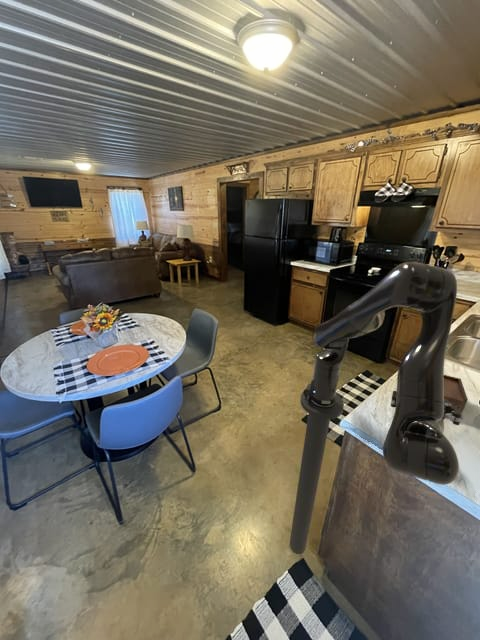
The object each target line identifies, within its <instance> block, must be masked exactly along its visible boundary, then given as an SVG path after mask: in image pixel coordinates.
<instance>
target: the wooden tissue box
mask: <svg viewBox="0 0 480 640" xmlns="http://www.w3.org/2000/svg"><path fill="white" fill-rule="evenodd" d="M462 381H463V380H462V378H459V377H455V376H450V375H447V374H444V399H447V401H448V402H450V403H451V406H452V407H454V408H455V406H458V407H460V408H461V415H462V414H463V412H464V410H465V408H466V406H467V403H468V401H469V399H468V396H467V392H466V390H465V388H464V387H465V386H464V384H463V382H462Z"/></svg>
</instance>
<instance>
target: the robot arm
mask: <svg viewBox="0 0 480 640" xmlns="http://www.w3.org/2000/svg"><path fill="white" fill-rule="evenodd" d="M457 295H458V281H457V278H456V275H455V274H454V273H453V272H452V271H451V270H449V269H446V268H444V267H440V266H436V265H431V264H426V263H421V262H417V261H405V262H401V263H400V264H398V265H396V266H395V267H393V268H392V269H391V270H390V271H389V272H388V273H387V274H386V275H385V276H384V277H383V278H382V279H381V280H380V281H379V282H377V283H376V284H375V286H373V287H372V288H371V289H370V290H368V292H366V293H365V294H363V295H362V296H361V297H360V298H358V299H357V300H356V301H354V302H352V303H351V304H349V305H348V306H346V307H345V308H344V309H343V310H342V311H340V312H339V313H338V314H336V315H334V316H333V317H331V318H330V319H328V320H325V321H323V322H321V323H320V324H318V325H317V326H316V327H315V329H314V333H313V341H314V344H315V345H316V347H318V348H319V349H321V351H319V352H318V353H317V354H316V355H315V361H314V362H315V363H314V367H313V368H314V369H313V376H312V379H311V381H310V382H308V384H307V386H306V387H305V388H304V390H303V391H304V395H305V397H307V396H309V401H311V402H312V403H313V404H314V405H316V406H318V407H321V408H330V407H332V406H333V405H334V402H335V396H336V393H337V391H338V385H339V379H340V375H341V370H342V369H341V368H342V364H343V362H344V361H345V357H346V353H347V349H348V347H349V341H350V339H354V338H360V337H363V336H365V335H368V334H370V333H372V332H374V331H376V330H378V329H379V328H380V327H381V326H382V325H383V323H384V321H385V316H386V311H387V310H389V309H392V308H405V309H407V310H408V309H409V310H414V311H418V312H421V328H420V332H419V334H418V335H417V338H416V340H414V343H413V344H412V345H411V347H410V348H409V349H408V351H407V352H406V353H405V355H404V356H403V358H402V359H401V362H400V364H399V367H398V369H397V370H398V371H397V381H396V390H393V391H392V395H391V400H390V407H392V408H395V409H394V414H393V417H392V420H391V423H390V425H389V427H388V431H387V433H386V436H385V438H384V441H383V444H382V456H383V459H384V461H385V463H386V465H387V466H388V467H389V468H390V469H391V470H393V471H395V472H397V473H400V474H403V475H407V476H410V477H413V478H416V479H420V480H423V481H428V482H429V483H434V484H436V485H449V484H452V483H453V482H455V481H456V480H457V478H458V476H459V473H460V463H459V458H458V454H457V452H456V450H455V448H454V446H453V445H452V442H451V441H450V439H448V438H447V437H446V435H445V434H444V431H445V421H444V420H445V419H446V420H450V422H452V424H453V425H455V426H460V424H461V417H462V414H461V408H460V407H458V406H455V408H454V407H452V406H451V403H450V402H448V401H447V399H444V375H445V360H446V354H447V349H448V343H449V338H450V333H451V329H452V324H453V323H452V322H453V317H454V312H455V306H456V302H457Z"/></svg>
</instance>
